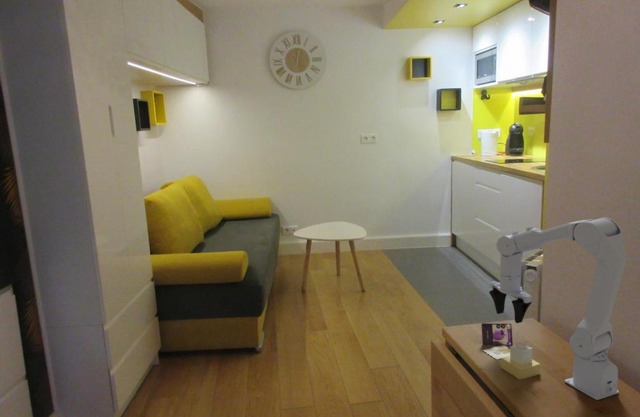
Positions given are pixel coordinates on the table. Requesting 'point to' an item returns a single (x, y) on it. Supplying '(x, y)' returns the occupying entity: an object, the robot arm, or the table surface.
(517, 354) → the top brick
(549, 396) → the table surface
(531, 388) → the table surface
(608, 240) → the robot arm
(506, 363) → the base brick
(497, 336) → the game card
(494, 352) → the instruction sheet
